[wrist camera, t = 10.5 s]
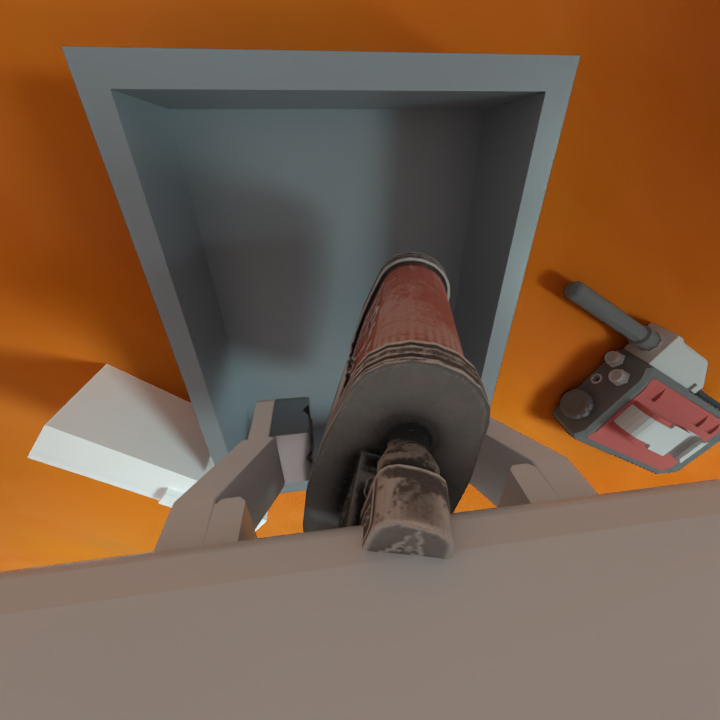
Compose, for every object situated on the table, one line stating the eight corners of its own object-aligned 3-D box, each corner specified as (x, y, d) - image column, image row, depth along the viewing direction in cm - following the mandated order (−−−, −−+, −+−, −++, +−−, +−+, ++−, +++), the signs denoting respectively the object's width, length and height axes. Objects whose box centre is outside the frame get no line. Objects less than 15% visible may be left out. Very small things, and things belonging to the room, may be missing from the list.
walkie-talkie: (732, 381, 25) (567, 261, 18) (805, 420, 22) (632, 288, 15) (638, 455, 29) (469, 378, 22) (686, 499, 25) (502, 423, 18)
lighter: (376, 241, 12) (294, 457, 3) (467, 265, 12) (621, 541, 3) (335, 406, 16) (255, 684, 8) (402, 424, 16) (395, 719, 8)
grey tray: (496, 87, 13) (580, 55, 9) (443, 413, 23) (473, 471, 18) (149, 85, 12) (61, 46, 8) (243, 431, 21) (226, 499, 17)
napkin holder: (29, 353, 17) (-79, 428, 13) (236, 307, 18) (207, 364, 13) (168, 513, 25) (135, 596, 21) (310, 481, 26) (309, 556, 21)
